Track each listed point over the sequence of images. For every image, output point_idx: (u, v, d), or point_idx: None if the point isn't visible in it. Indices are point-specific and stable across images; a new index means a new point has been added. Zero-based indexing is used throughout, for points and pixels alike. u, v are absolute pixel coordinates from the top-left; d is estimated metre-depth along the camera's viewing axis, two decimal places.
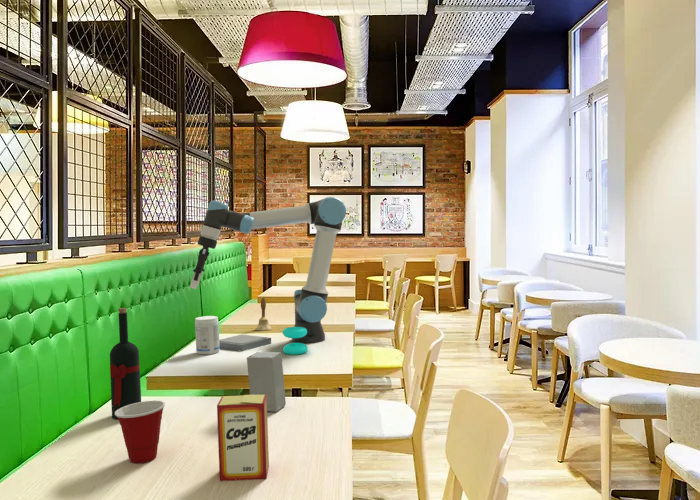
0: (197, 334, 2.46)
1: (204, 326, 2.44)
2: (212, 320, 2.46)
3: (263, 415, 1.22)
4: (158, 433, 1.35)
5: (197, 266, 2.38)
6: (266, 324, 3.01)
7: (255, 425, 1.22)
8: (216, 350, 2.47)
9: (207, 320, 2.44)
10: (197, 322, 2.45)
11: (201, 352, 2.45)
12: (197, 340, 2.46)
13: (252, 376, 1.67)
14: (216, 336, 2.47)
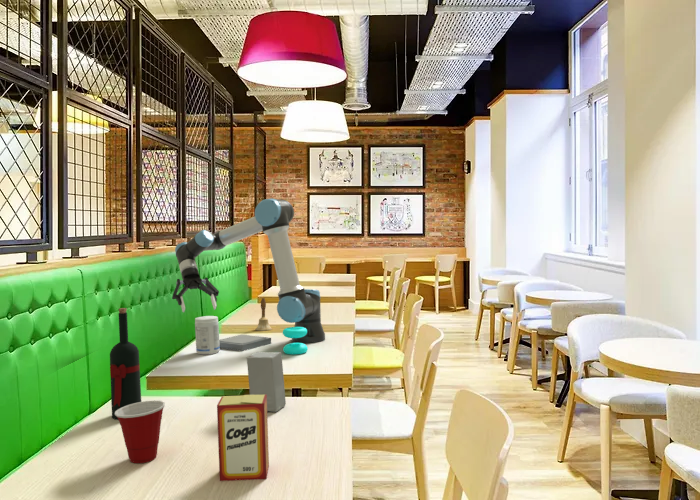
0: (197, 334, 2.46)
1: (204, 326, 2.44)
2: (212, 320, 2.46)
3: (263, 415, 1.22)
4: (158, 433, 1.35)
5: (173, 295, 2.58)
6: (266, 324, 3.01)
7: (255, 425, 1.22)
8: (216, 350, 2.47)
9: (207, 320, 2.44)
10: (197, 322, 2.45)
11: (201, 352, 2.45)
12: (197, 340, 2.46)
13: (252, 376, 1.67)
14: (216, 336, 2.47)
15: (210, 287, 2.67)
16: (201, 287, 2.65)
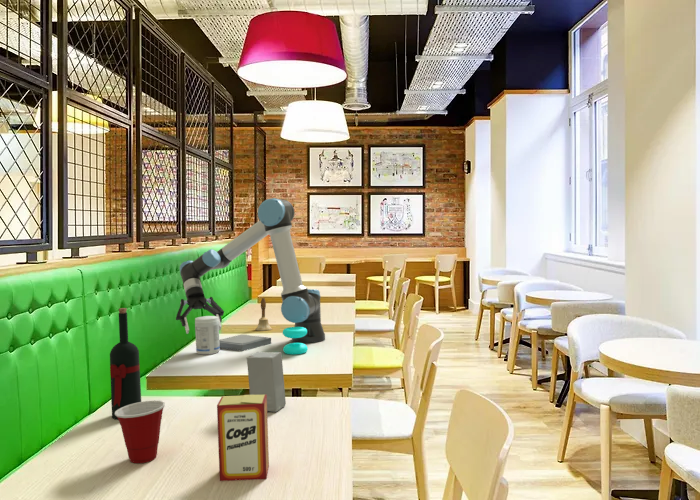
0: (197, 334, 2.46)
1: (204, 326, 2.44)
2: (212, 320, 2.46)
3: (263, 415, 1.22)
4: (158, 433, 1.35)
5: None
6: (266, 324, 3.01)
7: (255, 425, 1.22)
8: (216, 350, 2.47)
9: (207, 320, 2.44)
10: (197, 322, 2.45)
11: (201, 352, 2.45)
12: (197, 340, 2.46)
13: (252, 376, 1.67)
14: (216, 336, 2.47)
15: (215, 307, 2.60)
16: (206, 307, 2.59)
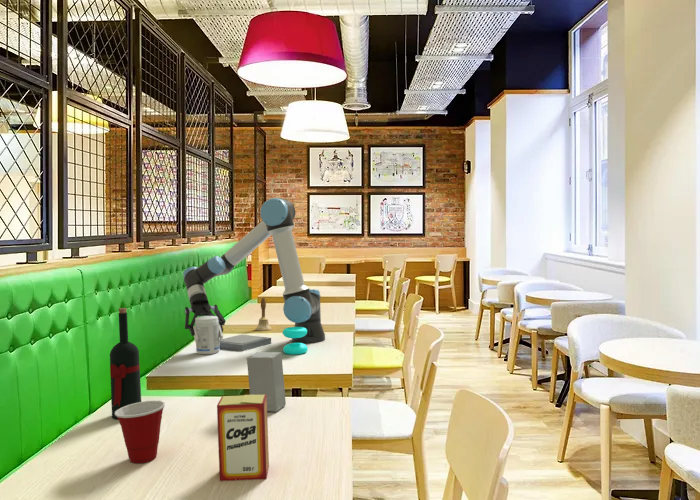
0: (197, 334, 2.46)
1: (204, 326, 2.44)
2: (212, 320, 2.46)
3: (263, 415, 1.22)
4: (158, 433, 1.35)
5: None
6: (266, 324, 3.01)
7: (255, 425, 1.22)
8: (216, 350, 2.47)
9: (207, 320, 2.44)
10: (197, 322, 2.45)
11: (201, 352, 2.45)
12: None
13: (252, 376, 1.67)
14: (216, 336, 2.47)
15: (218, 315, 2.56)
16: (209, 314, 2.55)
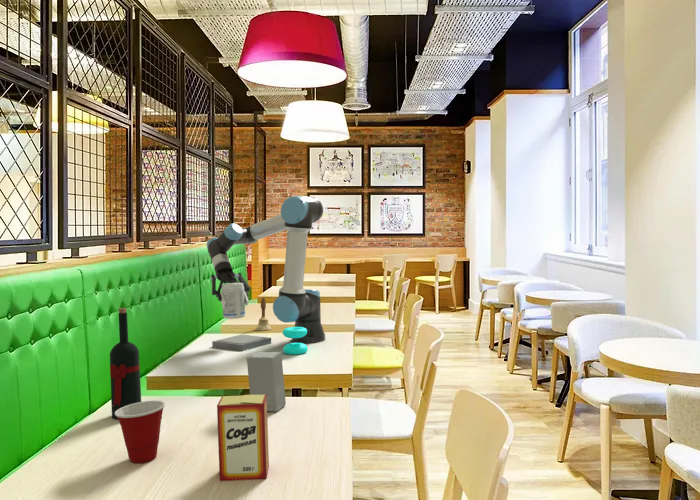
0: None
1: (231, 291, 2.55)
2: (238, 286, 2.56)
3: (263, 415, 1.22)
4: (158, 433, 1.35)
5: (212, 291, 2.59)
6: (266, 324, 3.01)
7: (255, 425, 1.22)
8: (242, 315, 2.58)
9: (234, 286, 2.55)
10: (224, 288, 2.56)
11: (228, 316, 2.56)
12: None
13: (252, 376, 1.67)
14: (242, 301, 2.58)
15: (242, 282, 2.67)
16: (233, 282, 2.66)
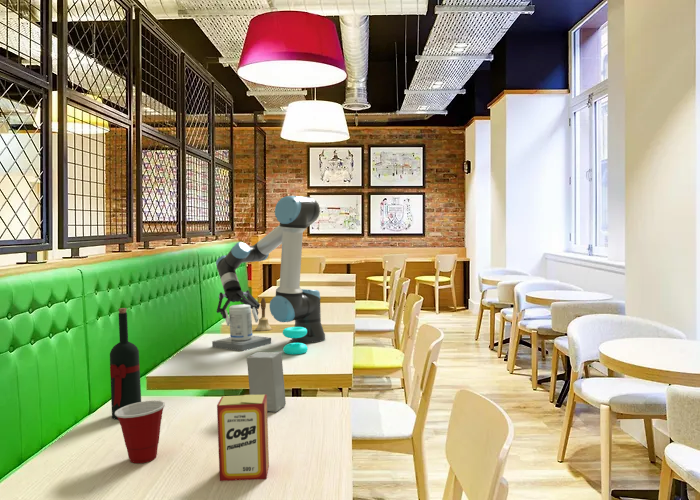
0: (231, 321, 2.59)
1: (238, 313, 2.58)
2: (246, 308, 2.59)
3: (263, 415, 1.22)
4: (158, 433, 1.35)
5: (217, 308, 2.62)
6: (266, 324, 3.01)
7: (255, 425, 1.22)
8: (249, 336, 2.61)
9: (241, 308, 2.58)
10: (231, 310, 2.59)
11: (235, 338, 2.59)
12: (231, 327, 2.60)
13: (252, 376, 1.67)
14: (249, 323, 2.61)
15: (251, 300, 2.71)
16: (243, 300, 2.69)
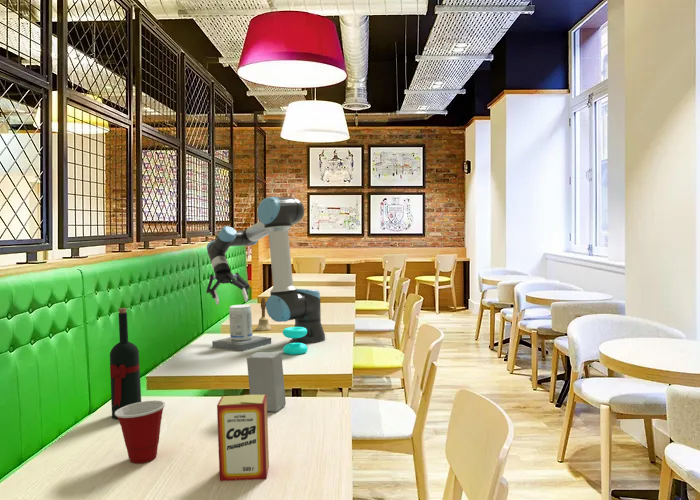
0: (231, 321, 2.59)
1: (238, 313, 2.58)
2: (246, 308, 2.59)
3: (263, 415, 1.22)
4: (158, 433, 1.35)
5: None
6: (266, 324, 3.01)
7: (255, 425, 1.22)
8: (249, 336, 2.61)
9: (241, 308, 2.58)
10: (232, 310, 2.59)
11: (235, 338, 2.59)
12: (231, 327, 2.60)
13: (252, 376, 1.67)
14: (249, 323, 2.61)
15: (241, 281, 2.83)
16: (233, 281, 2.81)
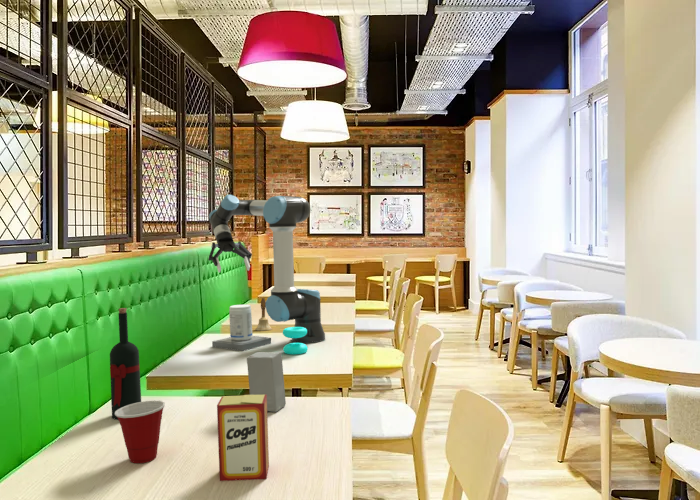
0: (231, 321, 2.59)
1: (238, 313, 2.58)
2: (246, 308, 2.59)
3: (263, 415, 1.22)
4: (158, 433, 1.35)
5: None
6: (266, 324, 3.01)
7: (255, 425, 1.22)
8: (249, 336, 2.61)
9: (241, 308, 2.58)
10: (232, 310, 2.59)
11: (235, 338, 2.59)
12: (231, 327, 2.60)
13: (252, 376, 1.67)
14: (249, 323, 2.61)
15: (243, 250, 2.82)
16: (235, 250, 2.80)
